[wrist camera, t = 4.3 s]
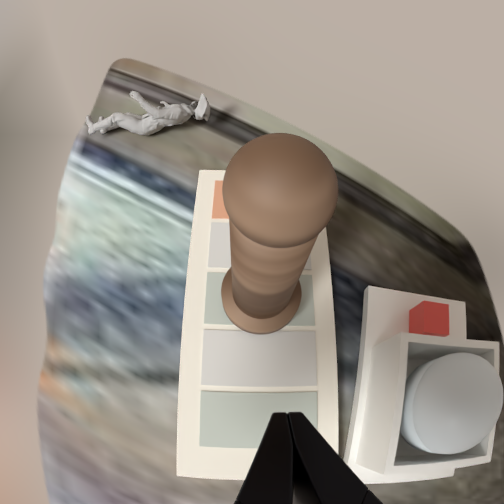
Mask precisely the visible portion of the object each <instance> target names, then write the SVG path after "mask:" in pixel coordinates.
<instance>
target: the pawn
mask: <svg viewBox="0 0 504 504" xmlns="http://www.w3.org/2000/svg"><path fill="white" fill-rule="evenodd" d="M222 195H223V201H224V206H225V209H226V212H227V214H228V216H229V227H230V251H231V267H230V269H229V270H228V271H227V273H226V274H225V276H224V279H223V282H222V286H221V297H222V304H223V308H224V311H225V313H226V315H227V317H228V318H229V319H230V321H231V322H232V323H233V324H234V325H235V326H237V327H238V328H240V329H241V330H243V331H245V332H248V333H252V334H259V335H263V334H270V333H274V332H276V331H278V330H280V329H282V328H283V327H285V326H286V325H287V324H288V323H289V322H290V321H291V320H292V318H293V317H294V315H295V313H296V312H297V310H298V308H299V305H300V302H301V297H302V291H301V285H300V281H299V278H300V276H301V274H302V271H303V269H304V267H305V265H306V262H307V260H308V258H309V255H310V253H311V251H312V249H313V246H314V244H315V242H316V239H317V237H318V235H319V233H320V232H321V231H322V230H323V229H324V228H325V227H326V226H327V224H328V223H329V221H330V220H331V218H332V216H333V214H334V211H335V208H336V205H337V200H338V183H337V177H336V174H335V171H334V168H333V166H332V164H331V162H330V161H329V159H328V158H327V156H326V155H325V154H324V153H323V152H322V151H321V150H320V149H319V148H318V147H317V146H316V145H315V144H313V143H312V142H310V141H308V140H306V139H304V138H302V137H300V136H296V135H292V134H286V133H272V134H267V135H263V136H260V137H258V138H255V139H253V140H251V141H250V142H248V143H247V144H245V145H244V146H243V147H241V148H240V149H239V150H238V151H237V153H236V154H235V155H234V156H233V158H232V159H231V161H230V163H229V164H228V166H227V169H226V171H225V175H224V178H223V186H222Z"/></svg>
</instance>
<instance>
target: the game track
mask: <svg viewBox="0 0 504 504" xmlns="http://www.w3.org/2000/svg"><path fill="white" fill-rule="evenodd" d="M225 171H226V170H200V172H199V179H198V186H197V193H196V201H195V208H194V216H193V224H192V233H191V242H190V251H189V260H188V270H187V280H186V291H185V302H184V314H183V326H182V340H181V356H180V373H179V394H178V421H177V476H184V477H194V478H207V479H226V480H245V478H246V476H247V473H248V471H249V469H250V466H251V464H252V462H253V459H254V457H255V455H256V452H257V450H258V447H259V445H260V442H261V440H262V437H263V435H264V433H265V430H266V427H267V425H268V422H269V420H270V417H271V415H272V413H273V412H286V413H288V412H302V413H303V414H304V415H305V416H306V417H307V419H308V420H309V421H310V422H311V423H312V425H313V426H314V427H315V428H316V429H317V431H318V432H319V433H320V434H321V435H322V436H323V438H324V439H325V440H326V441H327V442H328V443H329V445H330V446H331V447H332V448H333V449H334V450H335V452H336V453H337V454H338V379H337V355H336V336H335V320H334V306H333V294H332V282H331V271H330V261H329V251H328V242H327V233H326V227H325V228H324V229H323V230H322V231H321V232H320V233H319V235H318V237H317V239H316V242H315V244H314V246H313V249H312V251H311V253H310V255H309V258H308V260H307V262H306V265H305V267H304V269H303V271H302V274H301V276H300V278H299V281H300V285H301V291H302V297H301V302H300V305H299V308H298V310H297V312H296V313H295V315H294V317H293V318H292V320H291V321H290V322H289V323H288V324H287V325H286V326H285V327H283V328H282V329H280V330H278V331H276V332H274V333H270V334H263V335H259V334H252V333H248V332H245V331H243V330H241V329H240V328H238V327H237V326H235V325H234V324H233V323H232V322H231V321H230V319H229V318H228V317H227V315H226V313H225V311H224V308H223V304H222V297H221V286H222V282H223V279H224V276H225V274H226V273H227V271H228V270H229V269H230V267H231V251H230V227H229V216H228V214H227V212H226V209H225V206H224V201H223V195H222V186H223V178H224V175H225Z"/></svg>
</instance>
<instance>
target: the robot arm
mask: <svg viewBox="0 0 504 504" xmlns="http://www.w3.org/2000/svg"><path fill="white" fill-rule="evenodd" d="M234 504H383V503H382V502H381V501H380V500H379V499H378V498H377V497H376V496H375V495H374V494H373V493H372V492H371V491H370V490H368V487H367V486H366V485H365V484H364V483H363V482H362V481H361V480H360V479H359V478H358V476H357V475H356V474H355V473H354V472H353V471H352V470H351V469H350V467H349V466H348V465H347V464H346V463H345V462H344V461H343V460H342V458H341V457H340V456H339V455H338V454H337V453H336V452H335V450H334V449H333V448H332V447H331V446H330V445H329V443H328V442H327V441H326V440H325V439H324V438H323V436H322V435H321V434H320V433H319V432H318V431H317V429H316V428H315V427H314V426H313V425H312V423H311V422H310V421H309V420H308V419H307V417H306V416H305V415H304V414H303V413H302V412H288V413H286V412H273V413H272V415H271V417H270V420H269V422H268V425H267V427H266V430H265V433H264V435H263V437H262V440H261V442H260V445H259V447H258V450H257V452H256V455H255V457H254V459H253V462H252V464H251V466H250V469H249V471H248V473H247V476H246V478H245V480H244V483H243V485H242V487H241V489H240V492H239V494H238V496H237V498H236V501H235V502H234Z"/></svg>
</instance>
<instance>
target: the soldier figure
mask: <svg viewBox="0 0 504 504" xmlns="http://www.w3.org/2000/svg"><path fill="white" fill-rule="evenodd" d="M132 93H133V94H132ZM130 95H133V96H129V97H132V98H134V99H135V100H137V101H138V102H140V104H141V107H142V108H144V110H146V111H147V112H148V113H147V114H143V116H140V115H136V114H133V113H126V114H124V113H120V112H115V113H113V114H112V115H111V116H109V117H108V118H106V119H104V117H103V116H100V117H99V122H96V123H93V121H92V118H91V116H89V115H87V116H86V124H87V125H88V127H89V129H88V132H89V134H90V135H92V134H94V133H95V132H96V131H98V130H100V132H101V134H104V133H106V132H107V131H109V130H112V129H116V128H118V127H122V128H124V129H127V130H129V131H130V132H132V133H137V134H140V135H148V136H149V135H151V134H154V133H156V132H158V131H159V130H161V129H162V128H163V127H164V126H173V125H177V124H183V122H186V121H187V120H188V119H189V118H190V117H191V115H192V114H194V112H195V116H196V119H197V120H201V119H203V118H204V119H205V120H206V121H208V118H209V115H210V105H209V103H208V101H207V99H206V97H205V96H204V94H203V92H202V94H201V97H200V100H199V102H198V101H197V102H198V106H197V108H196V109H195V110H194V111H193V109H192V108H191V107H190V106H189V105H185V104H182V103H181V104H182V105H178V104H172V105H169V104H168V103H167V102H164V101H162V102H160V103H163V104H164V105H165V107H163V108H161V107H160V106H159V107H157V108H156V107H154V106H152V105H151V104H150V103H149V102H147V101H145V100H144V98H143V97H142V96H141V95H140V94H139V93H137V92H135V91H132V92H131V93H130ZM192 103H194V102H192ZM195 103H196V102H195ZM192 105H193V104H192Z"/></svg>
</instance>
